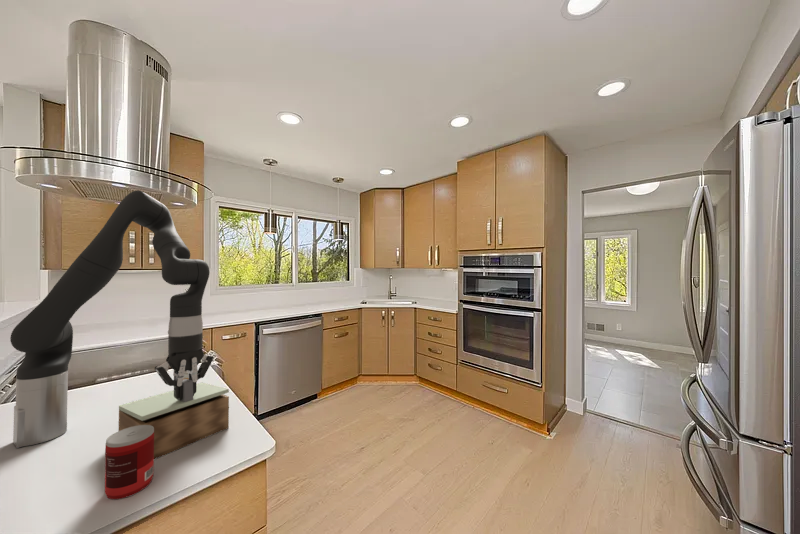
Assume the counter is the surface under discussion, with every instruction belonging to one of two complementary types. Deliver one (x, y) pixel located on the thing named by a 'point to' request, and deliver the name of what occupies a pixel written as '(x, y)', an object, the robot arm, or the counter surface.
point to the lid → (171, 400)
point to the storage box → (183, 424)
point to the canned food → (129, 461)
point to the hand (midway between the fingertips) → (185, 397)
